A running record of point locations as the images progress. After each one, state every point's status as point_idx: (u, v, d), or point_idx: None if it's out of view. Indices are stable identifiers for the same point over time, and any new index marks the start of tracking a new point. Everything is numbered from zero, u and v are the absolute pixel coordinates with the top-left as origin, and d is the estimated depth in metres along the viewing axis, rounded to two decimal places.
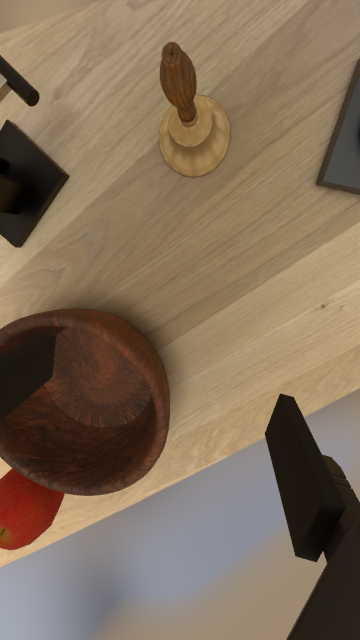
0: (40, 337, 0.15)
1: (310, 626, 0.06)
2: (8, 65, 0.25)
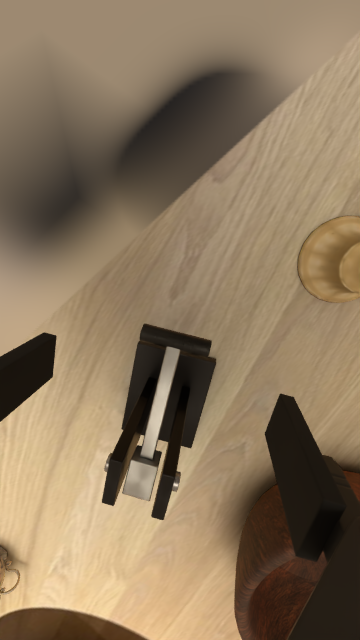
0: (40, 337, 0.15)
1: (310, 626, 0.06)
2: (174, 335, 0.22)
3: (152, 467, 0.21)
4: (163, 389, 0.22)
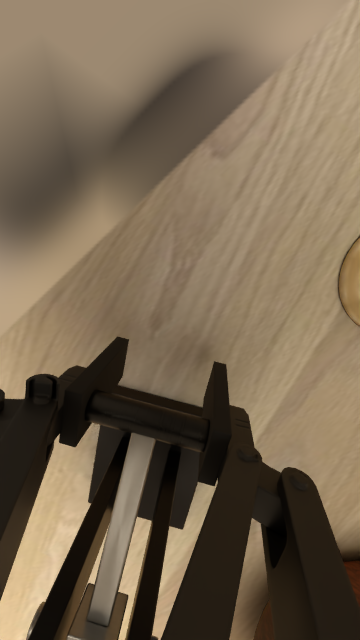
0: (117, 341, 0.17)
1: (205, 543, 0.07)
2: (145, 413, 0.12)
3: None
4: (126, 507, 0.13)
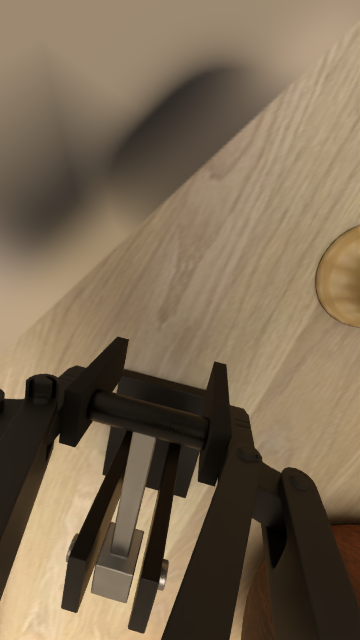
0: (117, 341, 0.17)
1: (205, 543, 0.07)
2: (144, 417, 0.13)
3: (125, 575, 0.15)
4: (134, 486, 0.14)
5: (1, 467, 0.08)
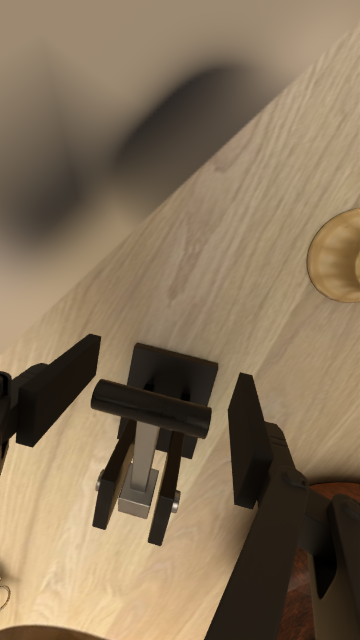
0: (88, 338, 0.17)
1: (245, 568, 0.07)
2: (146, 411, 0.13)
3: (143, 506, 0.19)
4: (143, 454, 0.16)
5: None
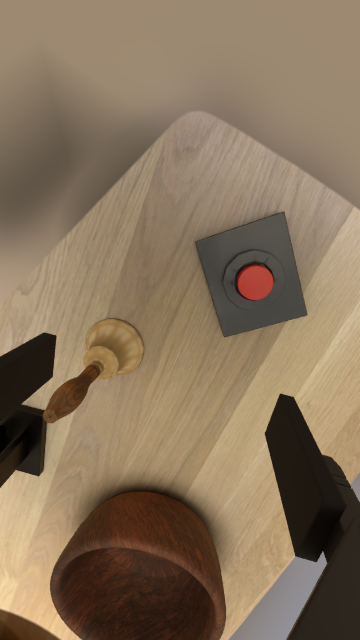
0: (40, 337, 0.15)
1: (310, 626, 0.06)
2: None
3: None
4: None
5: None
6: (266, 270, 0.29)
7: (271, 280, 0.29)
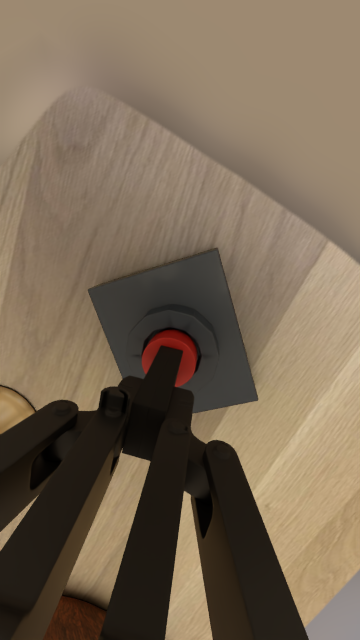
0: (162, 350, 0.17)
1: (142, 519, 0.07)
2: None
3: None
4: None
5: (69, 476, 0.08)
6: (183, 345, 0.18)
7: (192, 360, 0.18)
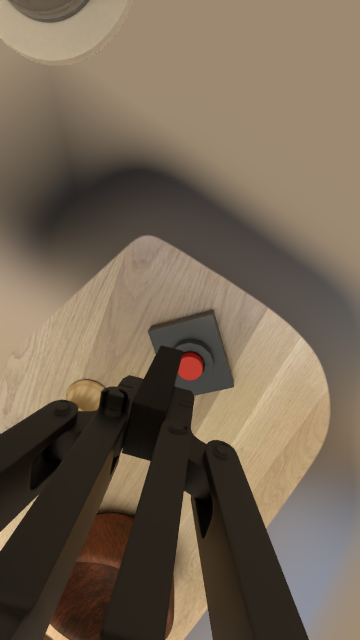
0: (162, 349, 0.17)
1: (142, 519, 0.07)
2: None
3: None
4: None
5: (69, 476, 0.08)
6: (196, 360, 0.39)
7: (200, 367, 0.39)
